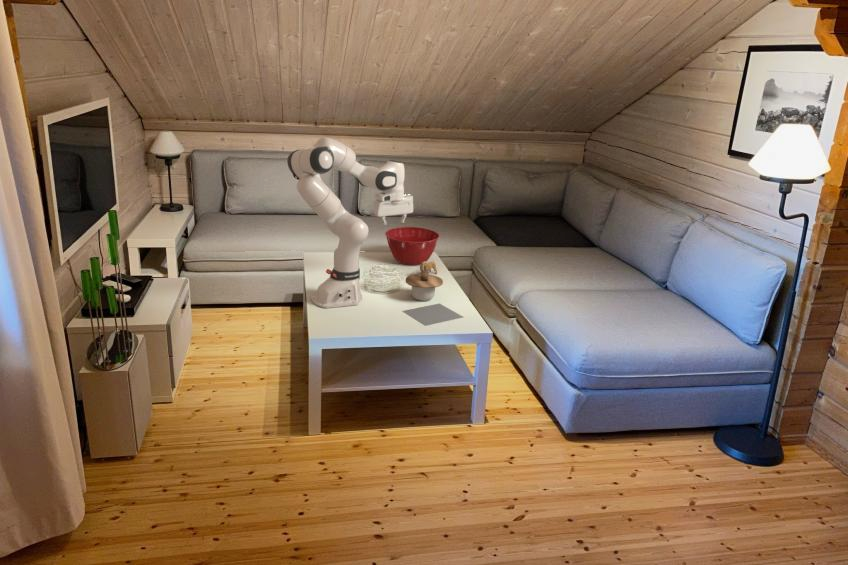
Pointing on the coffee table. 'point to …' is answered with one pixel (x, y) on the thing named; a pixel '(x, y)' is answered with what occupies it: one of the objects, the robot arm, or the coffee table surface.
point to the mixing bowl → (411, 244)
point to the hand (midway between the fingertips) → (393, 223)
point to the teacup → (423, 293)
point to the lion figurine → (428, 266)
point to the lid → (424, 280)
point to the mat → (432, 314)
